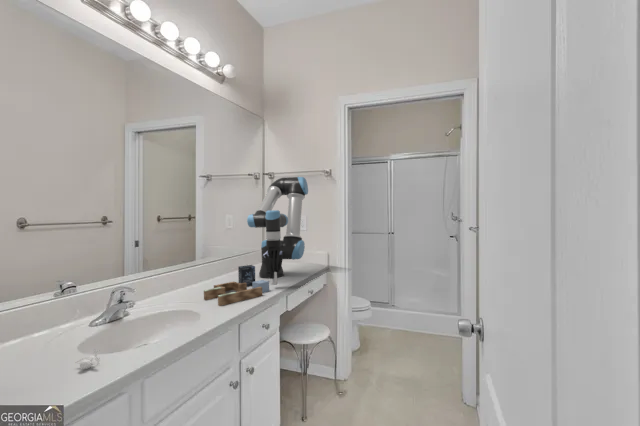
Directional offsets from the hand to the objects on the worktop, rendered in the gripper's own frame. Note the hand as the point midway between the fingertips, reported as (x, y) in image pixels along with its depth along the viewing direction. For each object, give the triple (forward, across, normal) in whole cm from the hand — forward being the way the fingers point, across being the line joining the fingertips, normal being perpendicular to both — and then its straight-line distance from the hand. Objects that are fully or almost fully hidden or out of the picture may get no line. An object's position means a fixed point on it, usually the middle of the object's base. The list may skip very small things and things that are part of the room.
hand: (274, 284), depth 166 cm
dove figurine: (+2, +85, +32) cm, 91 cm away
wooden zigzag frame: (+2, +24, -3) cm, 24 cm away
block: (+2, +9, 0) cm, 9 cm away
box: (+2, +6, -17) cm, 18 cm away
